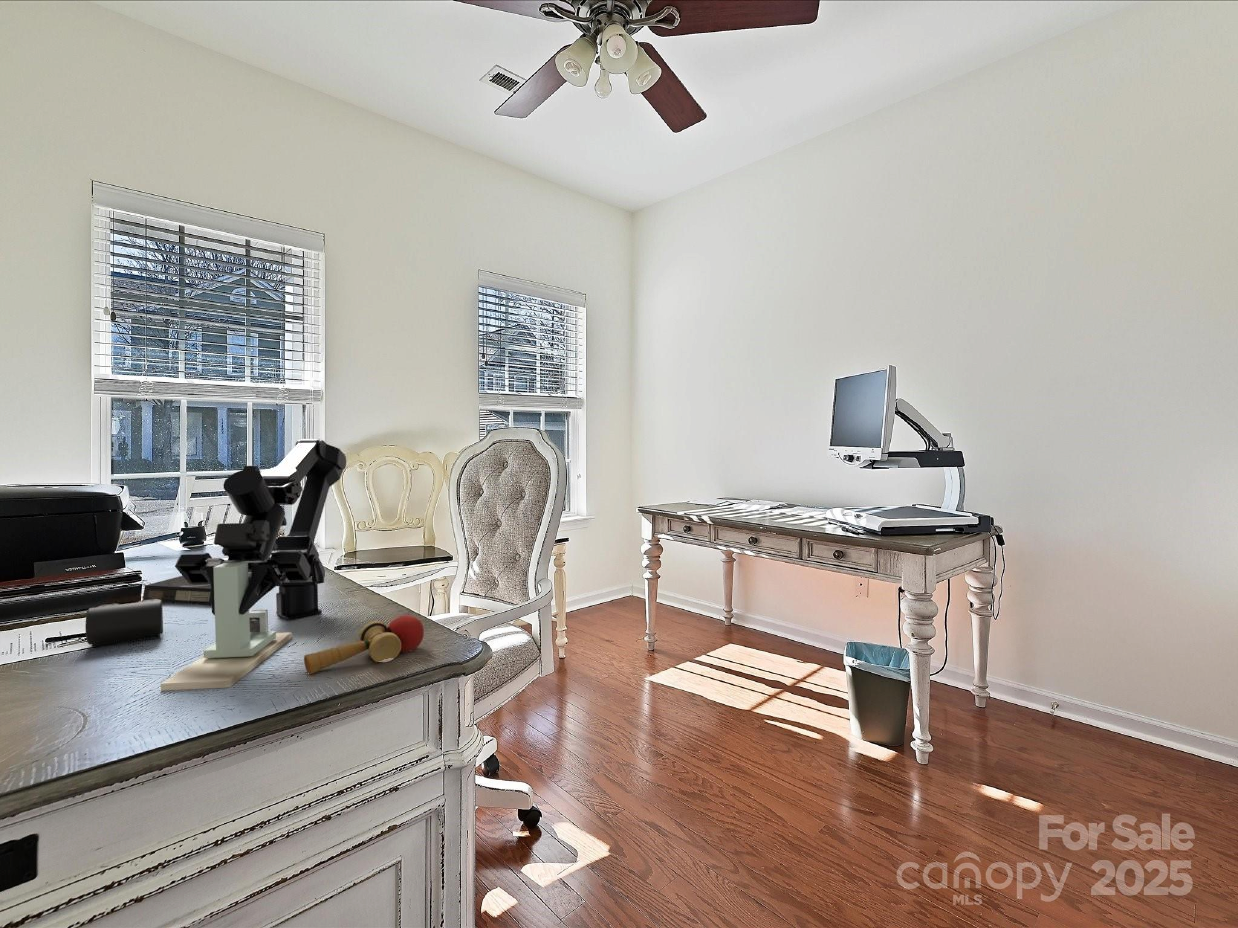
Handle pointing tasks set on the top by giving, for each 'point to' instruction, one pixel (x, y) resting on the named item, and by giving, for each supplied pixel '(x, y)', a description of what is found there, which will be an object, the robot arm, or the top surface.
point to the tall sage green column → (235, 615)
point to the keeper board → (223, 666)
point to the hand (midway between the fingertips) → (227, 613)
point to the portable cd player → (180, 591)
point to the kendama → (372, 643)
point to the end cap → (124, 622)
